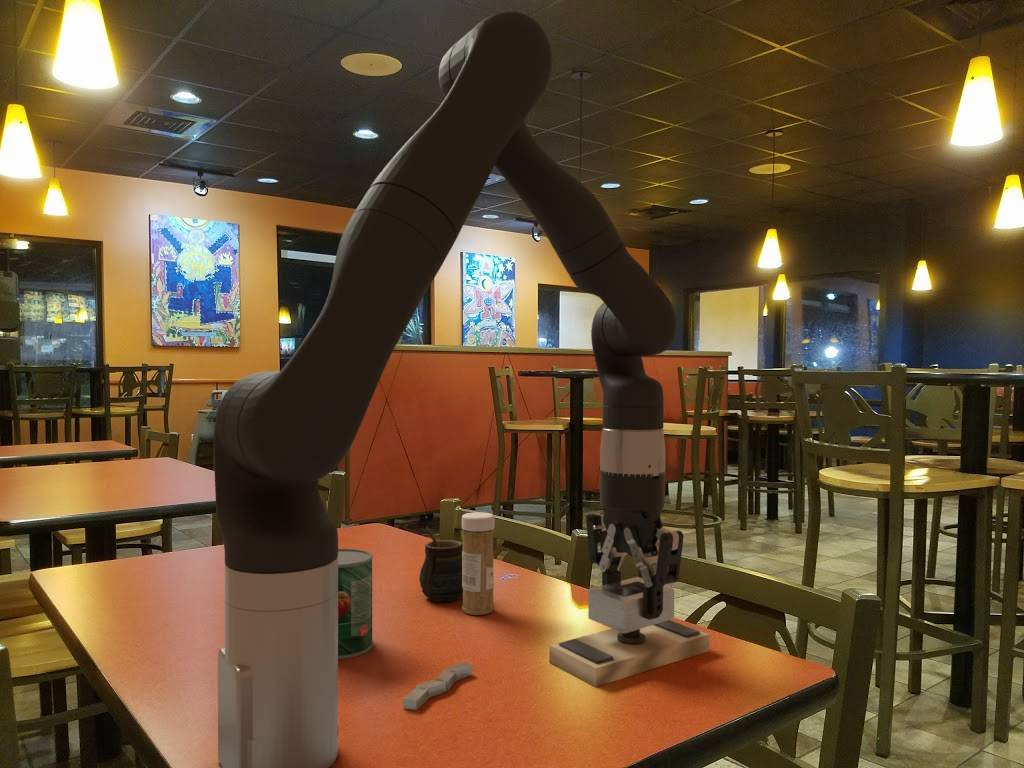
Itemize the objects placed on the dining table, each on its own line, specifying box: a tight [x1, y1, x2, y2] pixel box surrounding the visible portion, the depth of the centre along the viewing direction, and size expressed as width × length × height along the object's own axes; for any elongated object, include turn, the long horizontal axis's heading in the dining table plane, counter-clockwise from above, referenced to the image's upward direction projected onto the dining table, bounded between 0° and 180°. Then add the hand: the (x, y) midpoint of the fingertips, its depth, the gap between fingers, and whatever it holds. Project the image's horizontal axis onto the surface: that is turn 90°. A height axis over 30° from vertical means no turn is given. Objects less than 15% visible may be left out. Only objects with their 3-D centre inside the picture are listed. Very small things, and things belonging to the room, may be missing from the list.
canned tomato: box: [338, 548, 374, 660], centre depth 90 cm, size 8×8×11 cm
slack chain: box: [402, 661, 473, 711], centre depth 78 cm, size 11×2×1 cm, turn 149°
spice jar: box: [461, 511, 496, 616], centre depth 103 cm, size 5×5×13 cm
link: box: [587, 576, 675, 634], centre depth 87 cm, size 8×6×4 cm
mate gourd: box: [418, 526, 463, 603], centre depth 109 cm, size 7×8×10 cm
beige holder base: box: [548, 586, 710, 688], centre depth 87 cm, size 18×8×8 cm, turn 125°
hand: (631, 609), depth 87 cm, fingers closed on link, 6 cm apart
